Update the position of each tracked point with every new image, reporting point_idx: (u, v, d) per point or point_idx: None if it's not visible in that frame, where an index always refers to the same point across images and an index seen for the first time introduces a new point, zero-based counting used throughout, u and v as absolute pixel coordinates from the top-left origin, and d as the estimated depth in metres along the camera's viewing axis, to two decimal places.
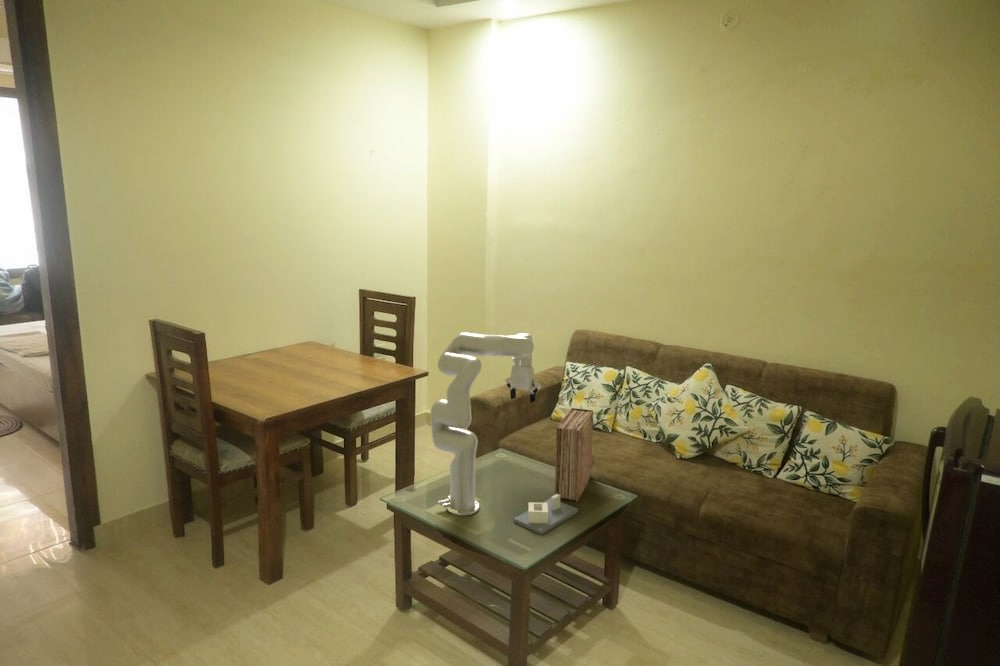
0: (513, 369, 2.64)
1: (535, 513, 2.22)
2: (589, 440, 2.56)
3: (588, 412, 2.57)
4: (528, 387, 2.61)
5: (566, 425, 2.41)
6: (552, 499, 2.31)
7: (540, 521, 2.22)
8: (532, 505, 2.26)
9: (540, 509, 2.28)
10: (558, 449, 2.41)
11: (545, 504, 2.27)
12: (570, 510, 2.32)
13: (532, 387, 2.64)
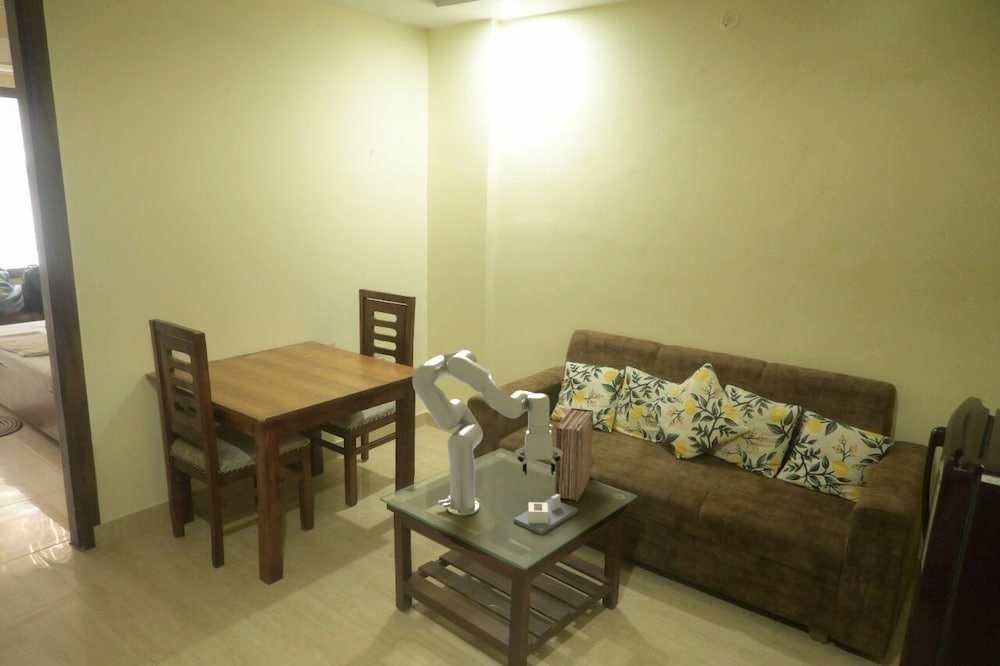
0: None
1: (535, 513, 2.22)
2: (589, 440, 2.56)
3: (588, 412, 2.57)
4: None
5: (566, 425, 2.41)
6: (552, 499, 2.31)
7: (540, 521, 2.22)
8: (532, 505, 2.26)
9: (540, 509, 2.28)
10: None
11: (545, 504, 2.27)
12: (570, 510, 2.32)
13: None
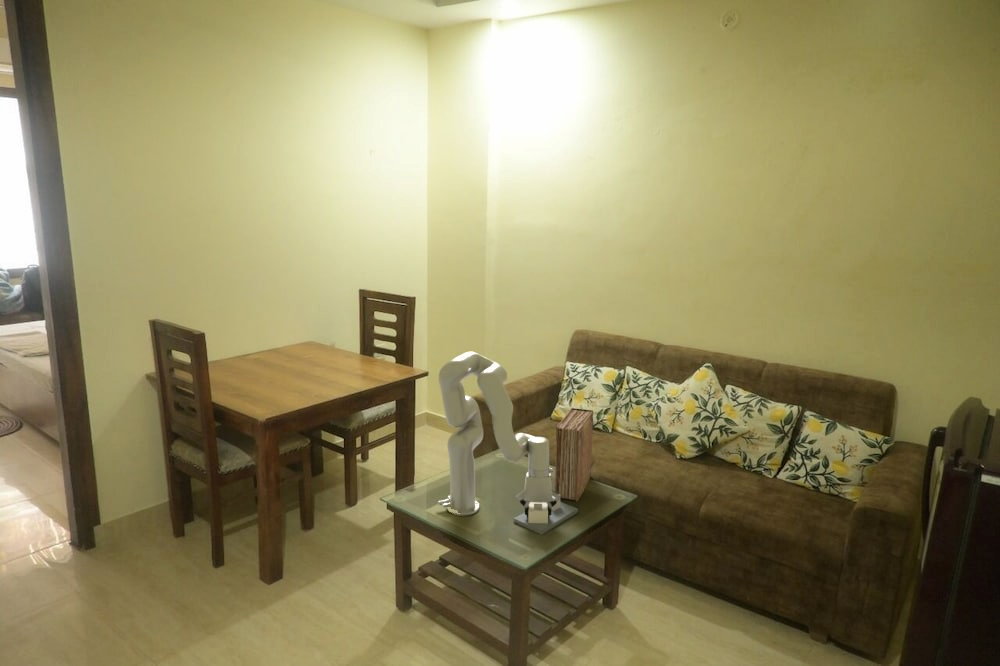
0: None
1: (535, 513, 2.22)
2: (589, 440, 2.56)
3: (588, 412, 2.57)
4: None
5: (566, 425, 2.41)
6: (552, 499, 2.31)
7: (540, 521, 2.22)
8: (532, 505, 2.26)
9: (540, 509, 2.28)
10: (558, 449, 2.41)
11: (545, 504, 2.27)
12: (570, 510, 2.32)
13: None
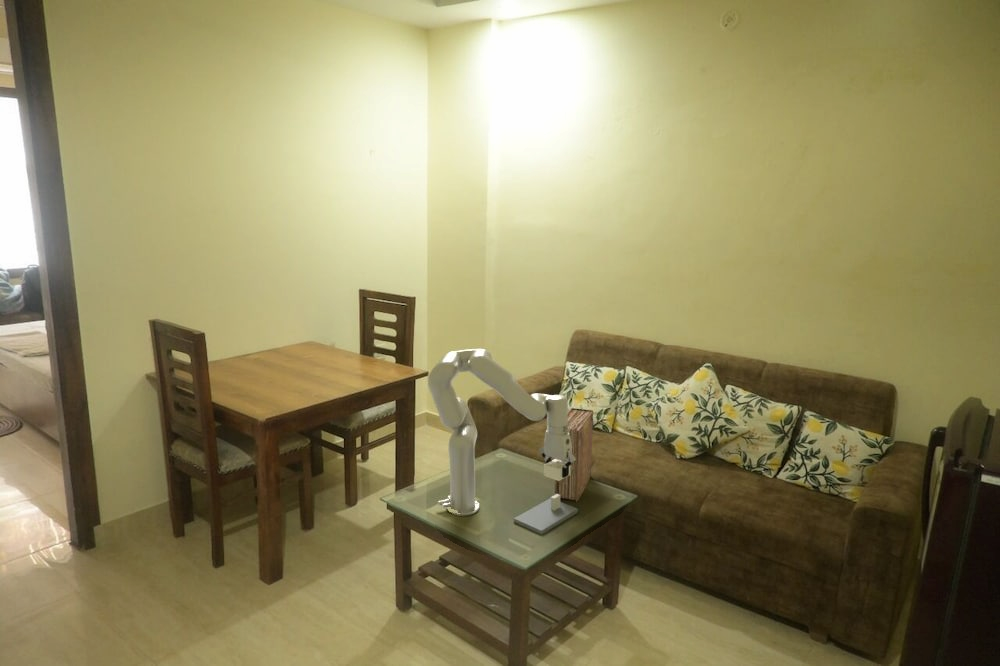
0: None
1: (549, 468, 2.28)
2: (589, 440, 2.56)
3: (588, 412, 2.57)
4: None
5: None
6: (552, 499, 2.31)
7: (553, 477, 2.28)
8: (554, 461, 2.32)
9: None
10: None
11: None
12: (570, 510, 2.32)
13: None
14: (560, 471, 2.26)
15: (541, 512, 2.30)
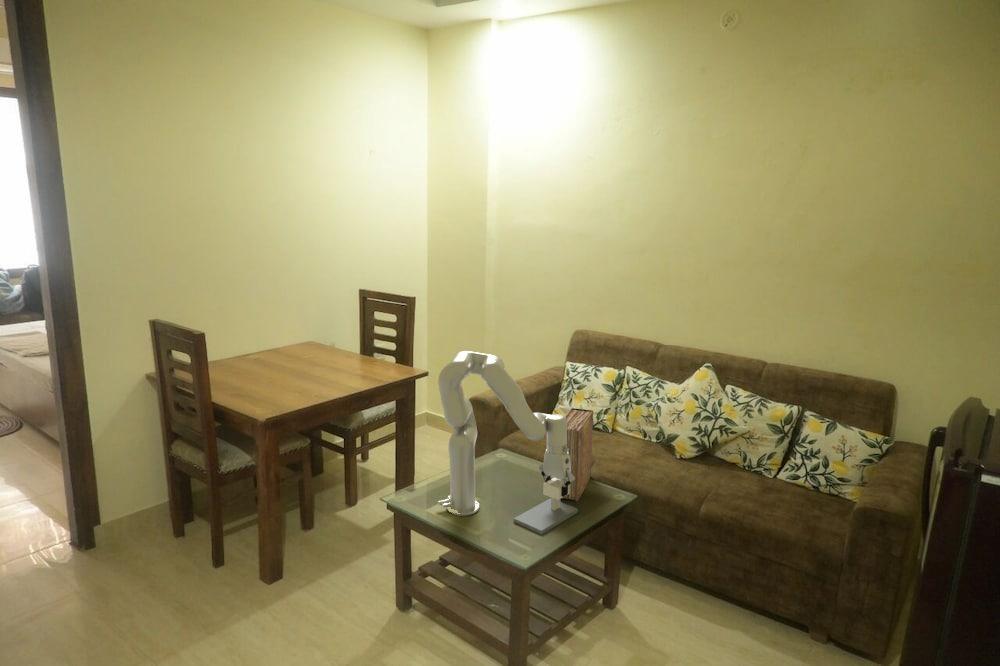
0: None
1: (548, 487, 2.30)
2: (589, 440, 2.56)
3: (588, 412, 2.57)
4: None
5: None
6: (552, 499, 2.31)
7: (552, 496, 2.29)
8: (553, 480, 2.34)
9: None
10: None
11: None
12: (570, 510, 2.32)
13: None
14: (559, 490, 2.27)
15: (541, 512, 2.30)
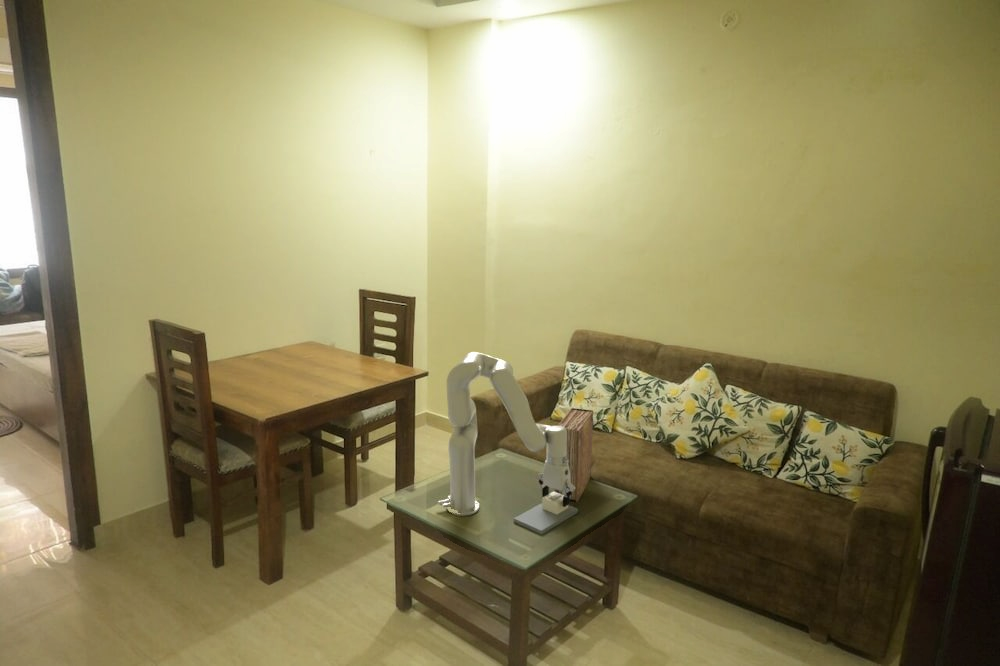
0: None
1: (547, 501, 2.31)
2: (589, 440, 2.56)
3: (588, 412, 2.57)
4: None
5: (566, 425, 2.41)
6: (552, 499, 2.31)
7: (551, 510, 2.30)
8: (552, 494, 2.35)
9: None
10: None
11: None
12: (570, 510, 2.32)
13: None
14: (558, 505, 2.29)
15: (541, 512, 2.30)
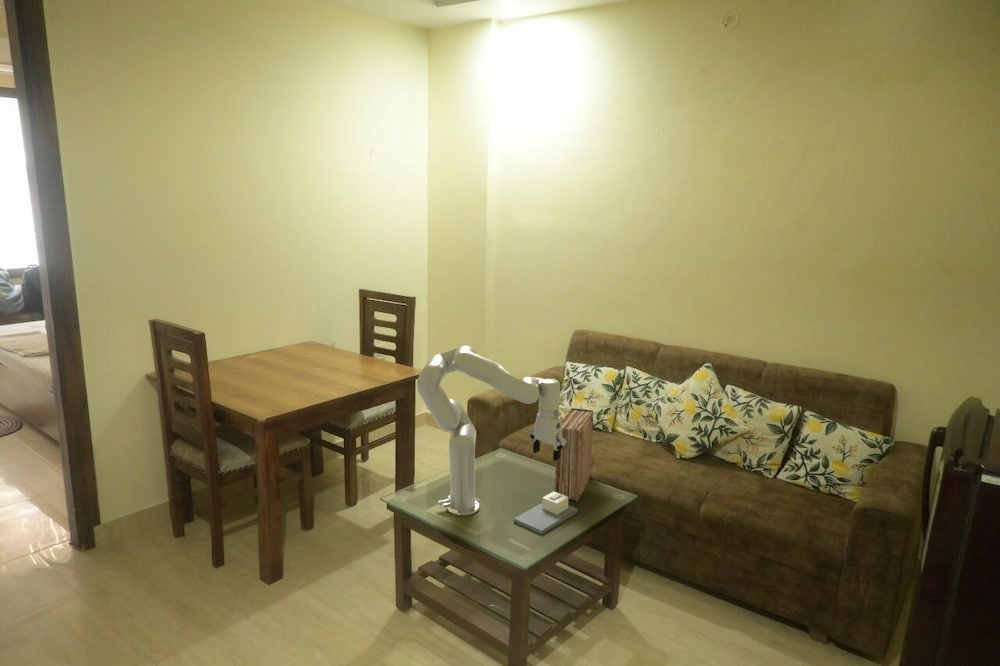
0: None
1: (547, 501, 2.31)
2: (589, 440, 2.56)
3: (588, 412, 2.57)
4: None
5: (566, 425, 2.41)
6: (552, 499, 2.31)
7: (551, 510, 2.30)
8: (552, 494, 2.35)
9: None
10: None
11: (564, 497, 2.32)
12: (570, 510, 2.32)
13: None
14: (558, 505, 2.29)
15: (541, 512, 2.30)
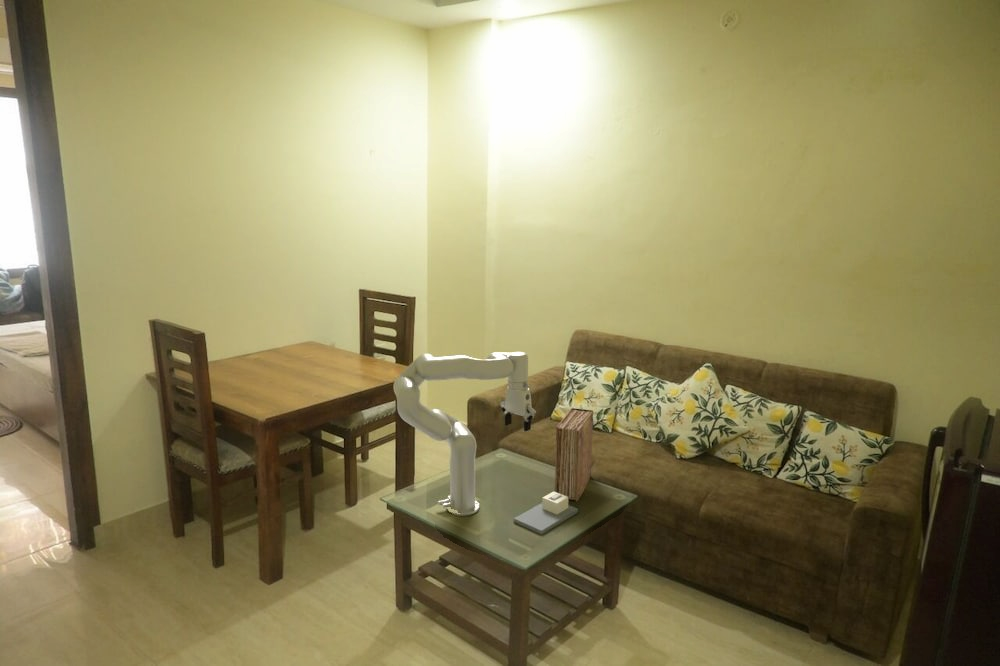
0: None
1: (547, 501, 2.31)
2: (589, 440, 2.56)
3: (588, 412, 2.57)
4: None
5: (566, 425, 2.41)
6: (552, 499, 2.31)
7: (551, 510, 2.30)
8: (552, 494, 2.35)
9: None
10: (558, 449, 2.41)
11: (564, 497, 2.32)
12: (570, 510, 2.32)
13: None
14: (558, 505, 2.29)
15: (541, 512, 2.30)
